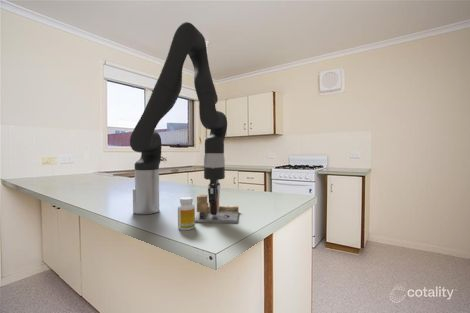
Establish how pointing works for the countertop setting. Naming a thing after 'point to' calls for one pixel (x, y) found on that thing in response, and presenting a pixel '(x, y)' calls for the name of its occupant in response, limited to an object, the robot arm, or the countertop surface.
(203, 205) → the gauge rule
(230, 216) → the bolt plate
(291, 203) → the countertop surface
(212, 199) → the block
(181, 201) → the supplement bottle
